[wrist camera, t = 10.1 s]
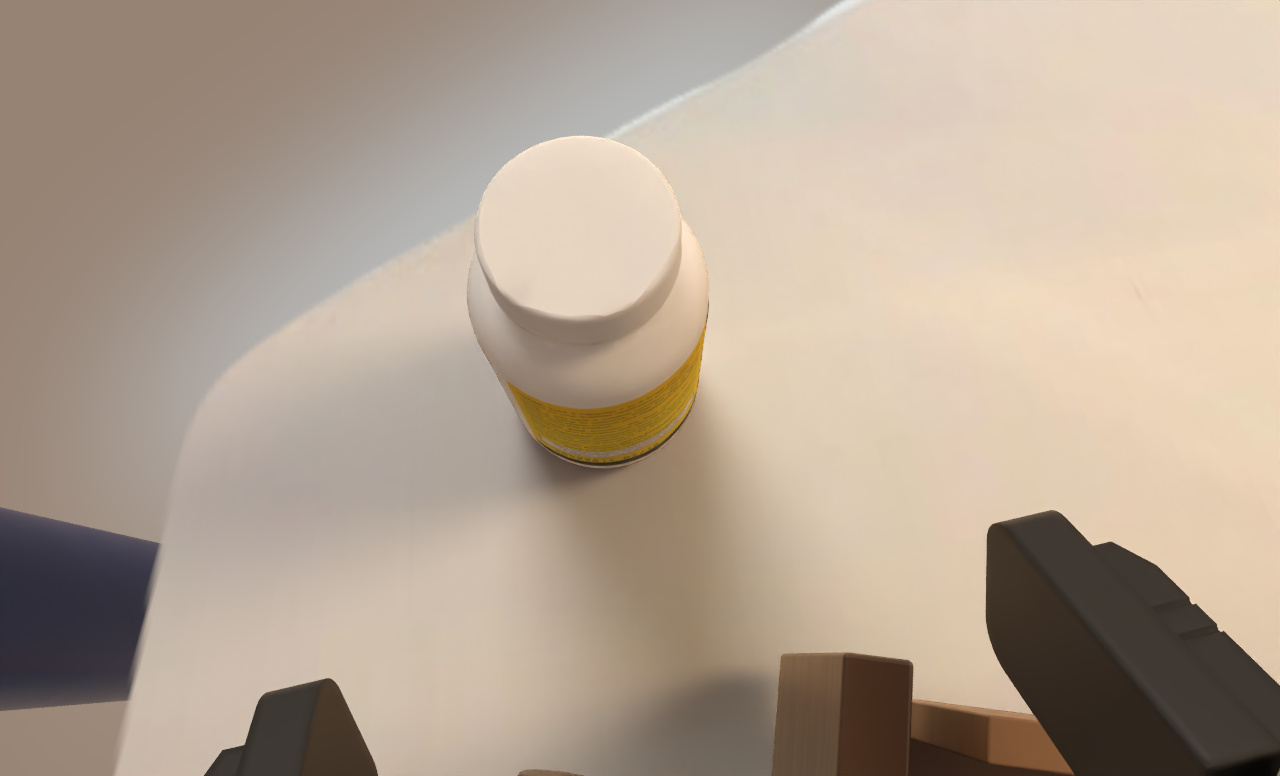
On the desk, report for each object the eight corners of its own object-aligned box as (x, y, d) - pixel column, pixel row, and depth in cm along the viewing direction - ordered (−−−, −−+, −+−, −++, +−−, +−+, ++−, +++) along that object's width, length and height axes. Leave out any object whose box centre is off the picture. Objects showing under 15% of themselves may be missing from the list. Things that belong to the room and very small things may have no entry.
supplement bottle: (734, 402, 26) (777, 258, 17) (580, 508, 25) (532, 420, 16) (629, 262, 27) (613, 56, 18) (478, 359, 27) (380, 197, 17)
